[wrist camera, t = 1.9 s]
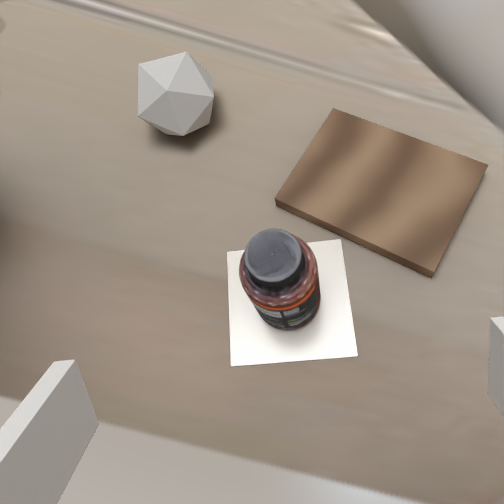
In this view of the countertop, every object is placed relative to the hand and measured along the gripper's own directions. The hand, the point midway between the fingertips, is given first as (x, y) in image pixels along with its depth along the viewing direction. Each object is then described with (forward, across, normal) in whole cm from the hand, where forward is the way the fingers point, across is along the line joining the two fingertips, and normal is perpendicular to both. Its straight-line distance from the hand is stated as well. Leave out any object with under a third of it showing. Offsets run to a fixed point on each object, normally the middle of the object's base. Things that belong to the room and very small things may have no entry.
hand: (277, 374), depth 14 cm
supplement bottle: (+25, -1, -10) cm, 27 cm away
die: (+41, -10, +6) cm, 42 cm away
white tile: (+24, -1, -10) cm, 27 cm away
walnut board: (+32, +9, -3) cm, 33 cm away
